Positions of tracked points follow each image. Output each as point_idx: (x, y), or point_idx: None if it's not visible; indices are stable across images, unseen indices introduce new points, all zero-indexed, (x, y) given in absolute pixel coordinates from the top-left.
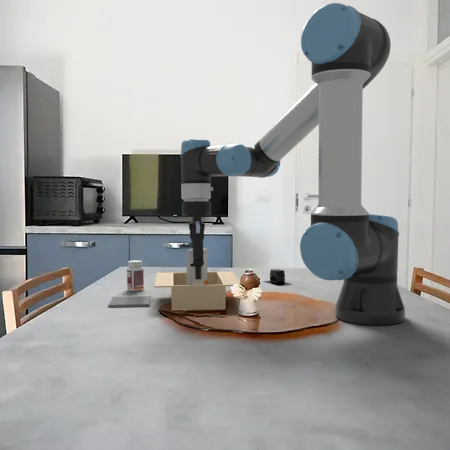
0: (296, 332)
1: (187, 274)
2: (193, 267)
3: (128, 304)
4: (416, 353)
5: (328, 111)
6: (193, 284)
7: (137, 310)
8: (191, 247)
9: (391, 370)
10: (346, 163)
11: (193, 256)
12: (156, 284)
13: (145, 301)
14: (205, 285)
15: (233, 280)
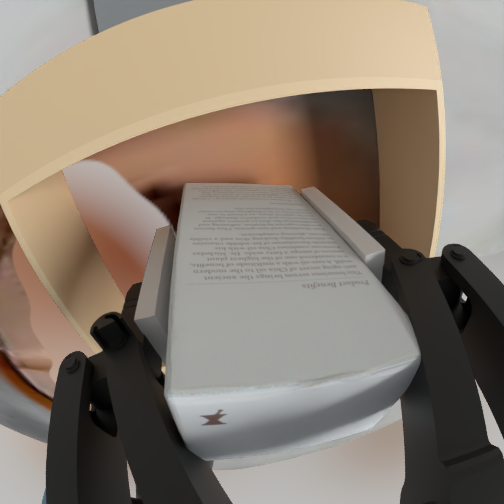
0: (48, 401)
1: (177, 235)
2: (138, 319)
3: None
4: None
5: None
6: (152, 251)
7: (41, 43)
8: (499, 303)
9: (12, 421)
10: None
11: (64, 402)
12: (6, 101)
13: (150, 7)
14: (74, 328)
15: None
